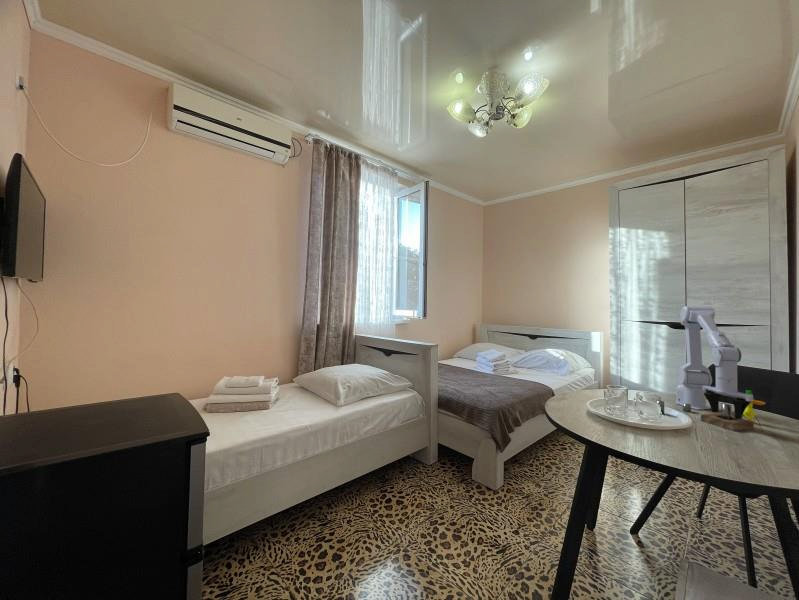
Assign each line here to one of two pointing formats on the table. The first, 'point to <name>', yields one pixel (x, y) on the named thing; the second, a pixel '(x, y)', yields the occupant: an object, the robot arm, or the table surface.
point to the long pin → (726, 411)
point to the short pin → (686, 407)
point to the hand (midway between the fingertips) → (726, 415)
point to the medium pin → (661, 405)
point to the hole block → (727, 422)
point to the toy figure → (749, 411)
